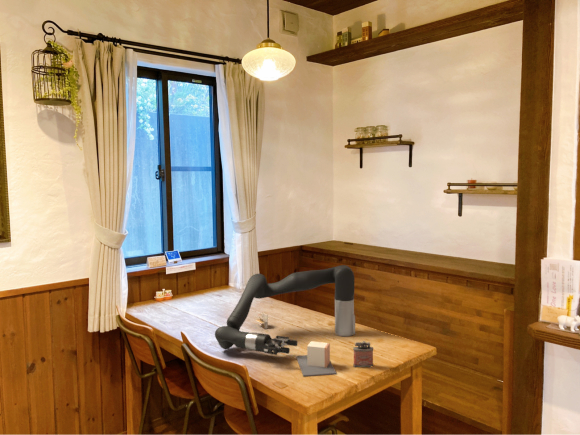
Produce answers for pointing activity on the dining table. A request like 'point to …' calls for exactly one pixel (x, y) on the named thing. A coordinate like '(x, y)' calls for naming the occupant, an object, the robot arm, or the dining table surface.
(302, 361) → the mat
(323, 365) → the block
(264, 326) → the architectural model
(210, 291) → the dining table surface
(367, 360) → the lighter
